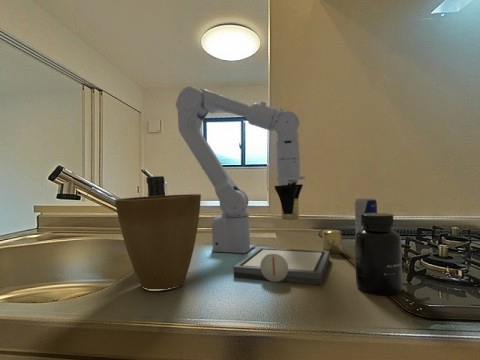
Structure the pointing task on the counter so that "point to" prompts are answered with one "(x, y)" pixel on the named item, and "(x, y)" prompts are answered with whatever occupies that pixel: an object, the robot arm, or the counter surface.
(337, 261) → the counter surface
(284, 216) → the cylinder
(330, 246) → the cylinder
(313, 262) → the pan
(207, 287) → the counter surface
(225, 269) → the counter surface
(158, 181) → the sauce bottle
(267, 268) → the scale
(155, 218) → the plant pot
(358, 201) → the energy drink
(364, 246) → the supplement bottle
